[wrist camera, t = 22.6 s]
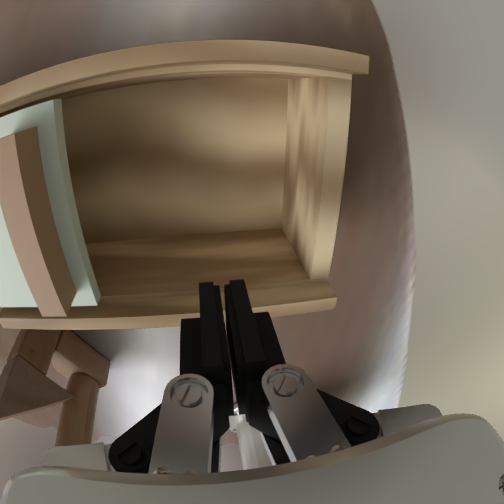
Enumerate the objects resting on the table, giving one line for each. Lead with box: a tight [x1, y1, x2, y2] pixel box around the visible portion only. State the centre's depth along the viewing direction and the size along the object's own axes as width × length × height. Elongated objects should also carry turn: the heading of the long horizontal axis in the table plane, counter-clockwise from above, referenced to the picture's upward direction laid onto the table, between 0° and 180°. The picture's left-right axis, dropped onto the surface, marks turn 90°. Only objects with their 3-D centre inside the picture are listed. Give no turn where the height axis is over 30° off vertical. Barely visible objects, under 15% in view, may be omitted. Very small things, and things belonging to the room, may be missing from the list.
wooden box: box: [0, 40, 369, 330], centre depth 16 cm, size 14×22×10 cm, turn 89°
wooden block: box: [0, 329, 110, 447], centre depth 20 cm, size 4×11×18 cm, turn 31°
